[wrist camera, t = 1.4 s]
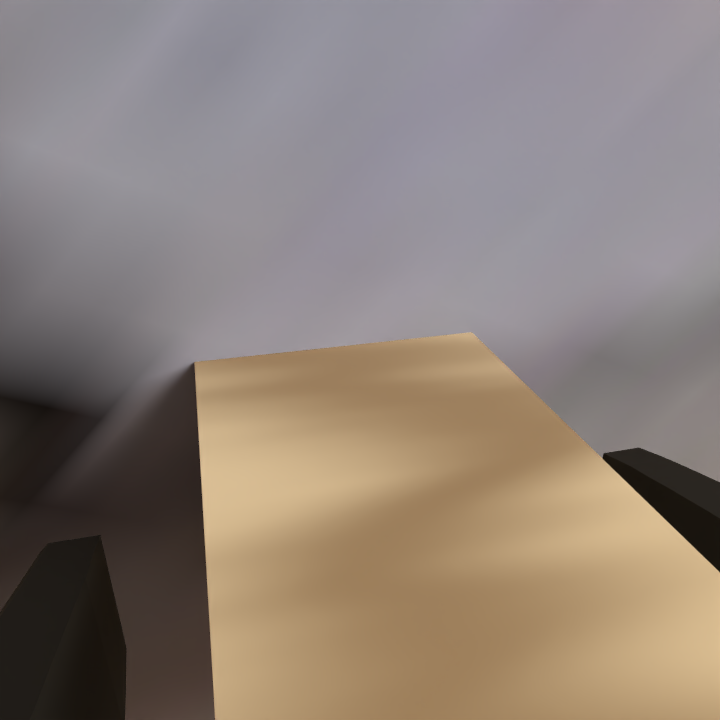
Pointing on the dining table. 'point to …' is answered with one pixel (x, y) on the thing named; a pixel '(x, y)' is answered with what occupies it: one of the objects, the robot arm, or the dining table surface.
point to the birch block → (434, 549)
